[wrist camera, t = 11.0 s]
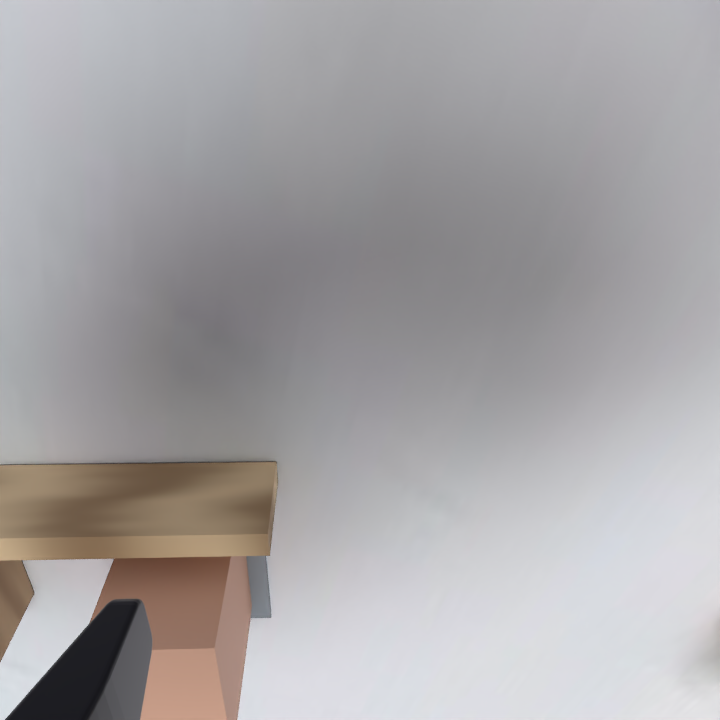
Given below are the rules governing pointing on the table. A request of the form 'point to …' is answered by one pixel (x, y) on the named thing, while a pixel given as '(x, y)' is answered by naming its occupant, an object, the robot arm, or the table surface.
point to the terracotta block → (189, 631)
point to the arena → (132, 520)
